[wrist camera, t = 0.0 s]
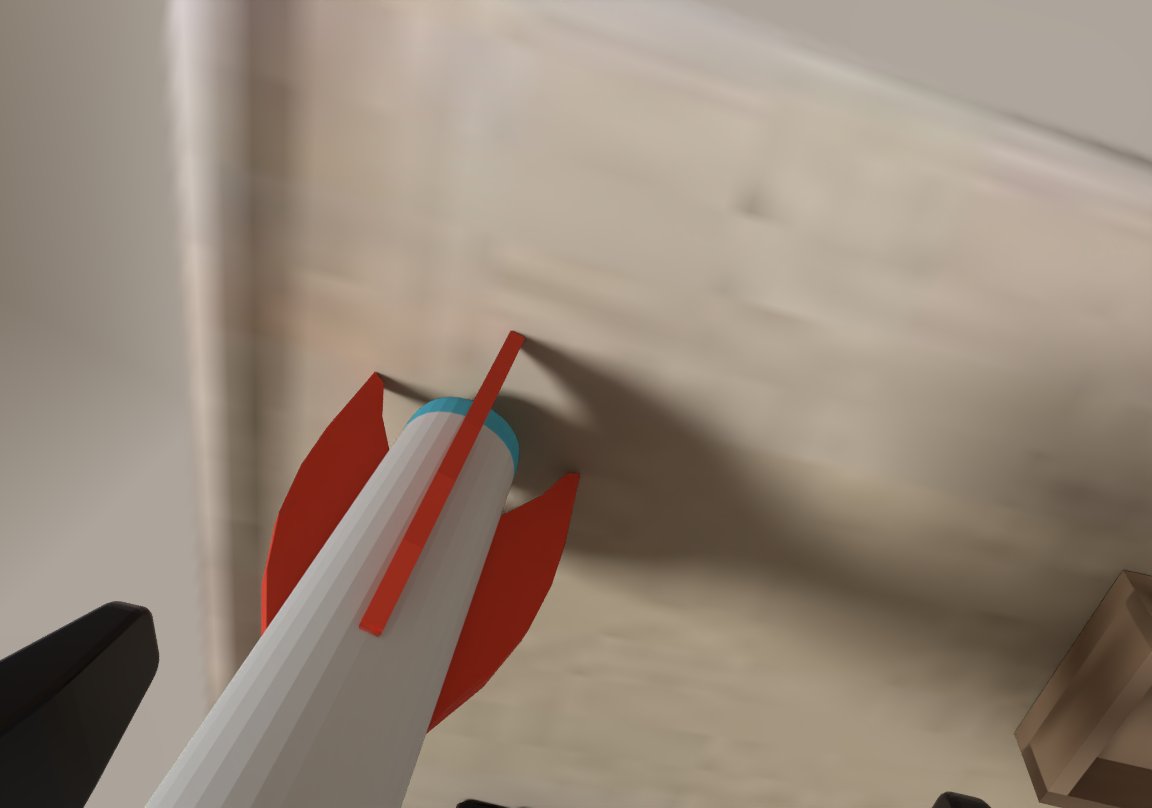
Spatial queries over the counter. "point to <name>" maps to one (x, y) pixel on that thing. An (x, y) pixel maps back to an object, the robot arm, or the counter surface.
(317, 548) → the toy rocket
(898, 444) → the counter surface
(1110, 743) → the caddy
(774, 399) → the counter surface
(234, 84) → the counter surface
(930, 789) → the counter surface
